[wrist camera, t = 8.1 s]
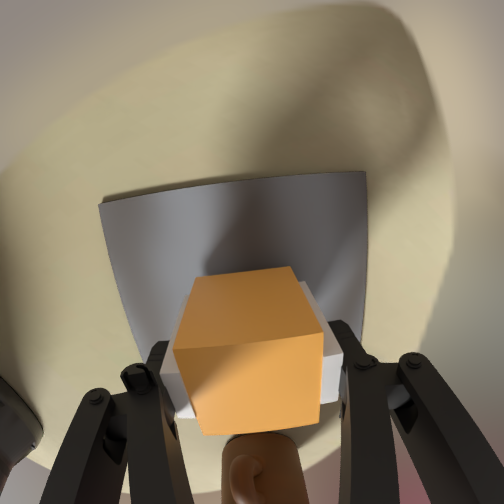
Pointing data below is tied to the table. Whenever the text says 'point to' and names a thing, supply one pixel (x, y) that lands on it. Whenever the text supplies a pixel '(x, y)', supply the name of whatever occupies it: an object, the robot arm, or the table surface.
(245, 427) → the orange foam cube
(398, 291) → the table surface
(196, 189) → the grey rubber mat
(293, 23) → the table surface
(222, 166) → the table surface
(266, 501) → the mug
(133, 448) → the robot arm
